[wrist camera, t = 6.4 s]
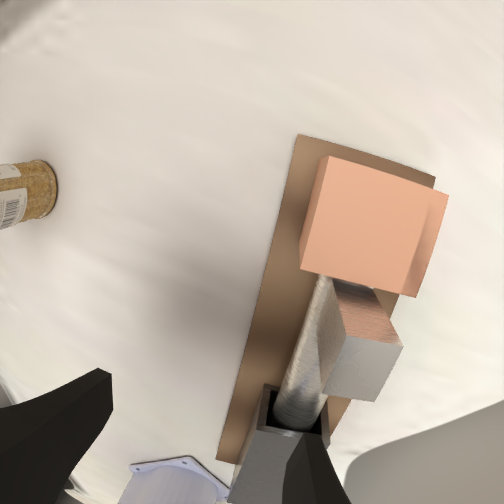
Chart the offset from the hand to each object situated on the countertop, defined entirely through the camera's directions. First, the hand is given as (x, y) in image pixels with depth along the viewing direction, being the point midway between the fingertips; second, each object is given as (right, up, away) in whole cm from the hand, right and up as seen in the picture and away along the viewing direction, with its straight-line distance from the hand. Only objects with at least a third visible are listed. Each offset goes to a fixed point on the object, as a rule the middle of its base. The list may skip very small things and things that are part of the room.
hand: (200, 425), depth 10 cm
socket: (+7, +8, +6) cm, 13 cm away
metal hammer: (+6, +1, +7) cm, 9 cm away
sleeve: (+4, -8, +11) cm, 14 cm away
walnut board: (+5, 0, +10) cm, 11 cm away
